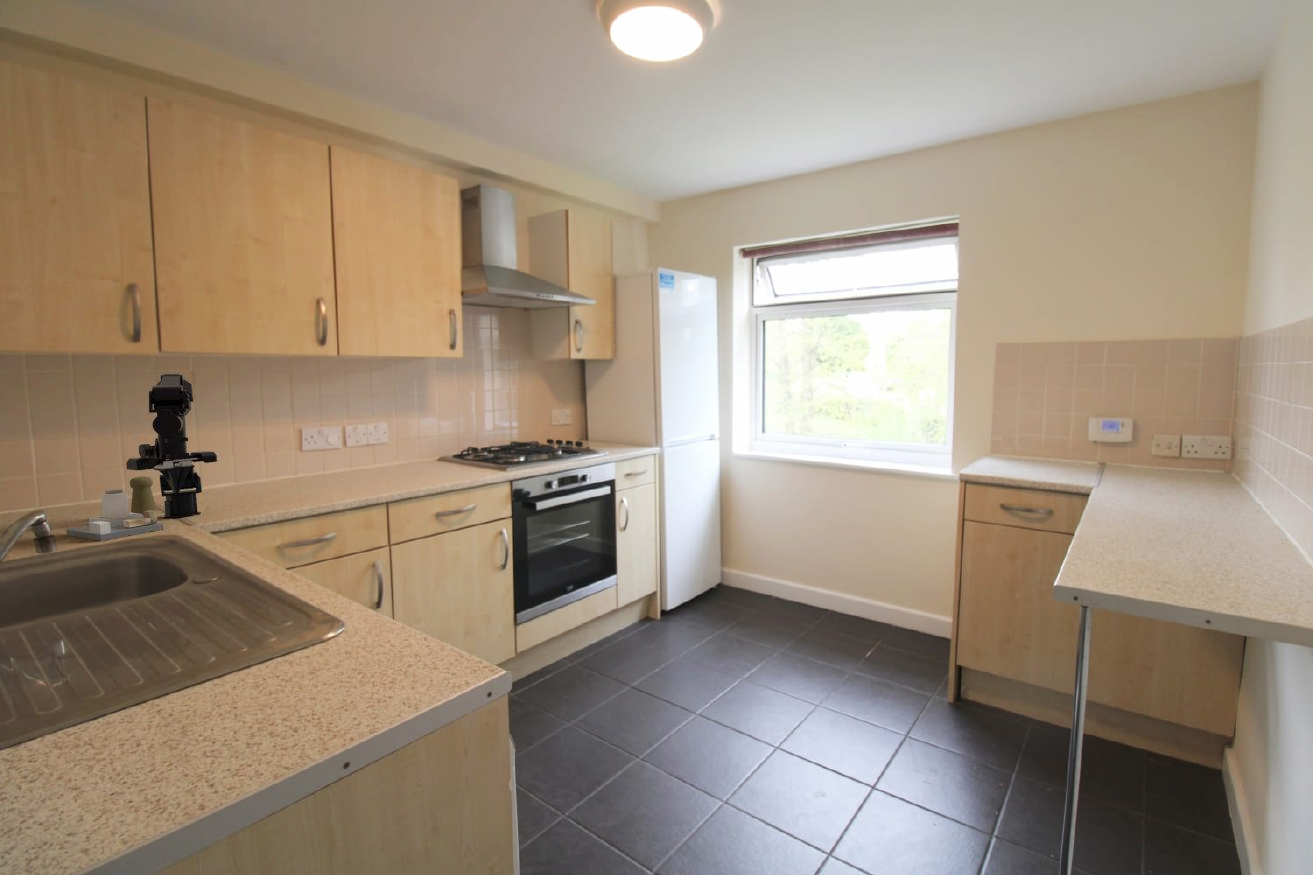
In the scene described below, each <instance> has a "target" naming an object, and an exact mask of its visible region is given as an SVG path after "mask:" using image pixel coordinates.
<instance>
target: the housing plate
mask: <svg viewBox="0 0 1313 875" xmlns="http://www.w3.org/2000/svg"><path fill="white" fill-rule="evenodd" d="M129 515H130V516H124V517H118V518H111V519H104V518H103V515H99V516H98V515H97V516H92V517H88V525H82V526H76V527H72V528H66V530H65V531H66V532H65V533H66V536H68V537H69V536H70V537H77V538H81V539H87V540H94V541H99V542H104V541H109V540H115V539H120V538H119V537H121V538H124V537H123V536H126V537H128V536H127V535H131V536H133V535H132V534H137V535H140V534H141V533H142V534H147V533H151V532H150V531H153V532H156V531H155V530H158V531H161V530H160V529H165V528H164V523H161V522H158V523H152V524H146V525H141V526H135V527H124V526H123V520H129V519H135V518H141V517H144V516H143V515H142V514H138V513H131V511H129ZM146 532H147V533H146ZM142 534H141V535H142Z"/></svg>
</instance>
